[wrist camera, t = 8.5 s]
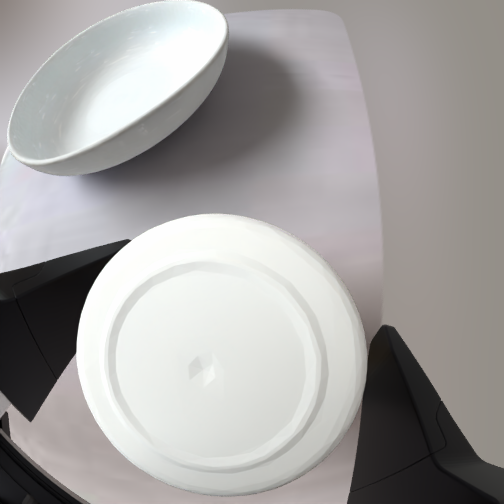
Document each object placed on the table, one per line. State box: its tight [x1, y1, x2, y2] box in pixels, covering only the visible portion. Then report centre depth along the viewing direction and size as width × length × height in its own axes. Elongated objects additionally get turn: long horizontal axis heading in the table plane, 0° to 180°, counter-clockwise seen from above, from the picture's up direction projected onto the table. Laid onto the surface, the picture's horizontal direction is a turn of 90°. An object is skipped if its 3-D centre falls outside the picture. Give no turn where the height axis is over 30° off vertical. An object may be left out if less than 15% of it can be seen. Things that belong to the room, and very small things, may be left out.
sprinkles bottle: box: [76, 213, 367, 496], centre depth 10 cm, size 5×5×13 cm
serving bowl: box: [7, 0, 229, 176], centre depth 19 cm, size 21×21×7 cm
